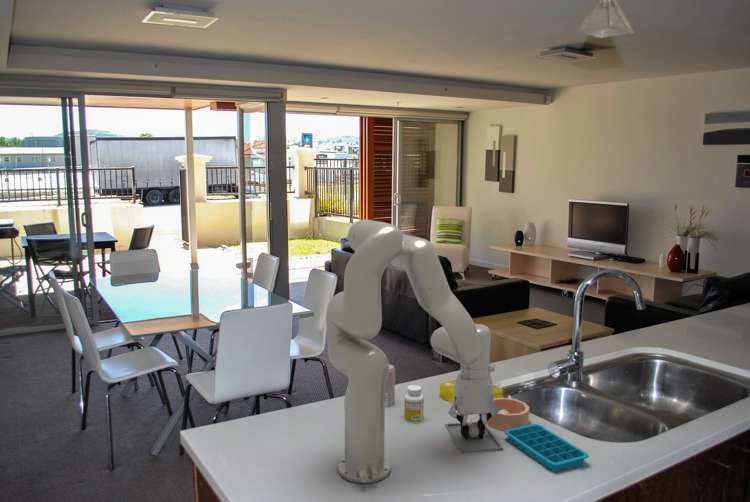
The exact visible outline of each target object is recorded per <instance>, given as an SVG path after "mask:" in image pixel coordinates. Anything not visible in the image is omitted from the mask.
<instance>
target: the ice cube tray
mask: <svg viewBox="0 0 750 502" xmlns="http://www.w3.org/2000/svg"><path fill="white" fill-rule="evenodd" d="M504 434H505V435H506V436H507V438H508V439H507V440H508V442H509V443H511V444H513V445H514V446H515V447H516V448H518V449H519V450H521V451H522V452H523V453H524V454H527V456H530V457H531V458H533V459H534V460H535V461H536V462H538V463H539V464H541V465H543V466H544V467H545V468H546V469H548V470H549V471H552V472H558V471H563V470H566V469H570V468H574V467H576V468H579V467H583V466H584V463H585V460H586V459H588V458H589V457H590V456H589V454H588V452H585V451H584V450H583V449H581V448H579V447H577V446H576V445H574V444H572V443H571V442H570V441H568V440H566V439H565V438H563V437H561V436H559V434H556V433H555V432H553V431H552V430H551V429H548V428H546V427H545V426H543V425H541V424H539V423H532V424H528V425H527V426H522V427H518V428H513V429H509V430H505V431H504Z"/></svg>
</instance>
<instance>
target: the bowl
mask: <svg viewBox="0 0 750 502" xmlns="http://www.w3.org/2000/svg"><path fill="white" fill-rule="evenodd" d="M494 404H495V406H496V407H497V409H498V411H500V410H507V411H508V412H509V413H510V414H506V413H500V412H498V413H497V414H495V415H493V416H492V417H491V418H490V419H489V420H488V421H487V424H486V426H487V427H490V428H493V429H495V430H498V431H504V432H505V430H509V429H513V428H518V427H522V426H527V425H530V424H529V423H530V406H529V405H528V404H527V403H526V402H524V401H521V400H519V399H516V398H511V397H509V398H508V397H503V398H494Z"/></svg>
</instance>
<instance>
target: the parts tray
mask: <svg viewBox="0 0 750 502" xmlns="http://www.w3.org/2000/svg"><path fill="white" fill-rule="evenodd" d="M472 422H473V424H475V425H477V421H472ZM444 427H445V428H446V431H447V432H448V433H449V435H450V437H451V438H452V440H453V441H454V444H455V445H456V446H457V449H459V451H460V453H461V454H471V453H472V454H473V453H483V452H496V451H498V452H500V451H504V447H503V445H502V444H501V443H500V441H499V440H498V439H497V437H496V436H495V435H494V434H493V433H492V431H491V430H490V429H489V426H488V425H487V424H485V434H483V439H481V438H480V437H479V436H477V437H476V438H470V437H469V436H468V440H465V439H464V437H463V436H462V435H461V423H460V422H449V423H444Z"/></svg>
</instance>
